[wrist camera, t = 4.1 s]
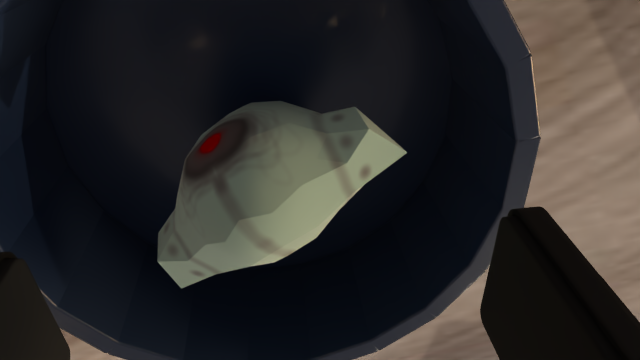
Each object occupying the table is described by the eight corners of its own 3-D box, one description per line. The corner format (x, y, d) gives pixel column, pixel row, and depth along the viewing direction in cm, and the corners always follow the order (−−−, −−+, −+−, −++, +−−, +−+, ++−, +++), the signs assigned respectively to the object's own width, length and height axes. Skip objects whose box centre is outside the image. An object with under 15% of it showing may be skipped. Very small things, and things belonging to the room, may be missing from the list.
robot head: (209, 213, 19) (187, 356, 13) (133, 139, 17) (69, 270, 11) (381, 103, 17) (443, 213, 11) (320, 7, 15) (357, 82, 9)
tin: (102, 291, 21) (58, 402, 16) (-63, -126, 12) (-241, -131, 8) (442, 256, 22) (489, 352, 17) (498, -146, 14) (614, -161, 9)
